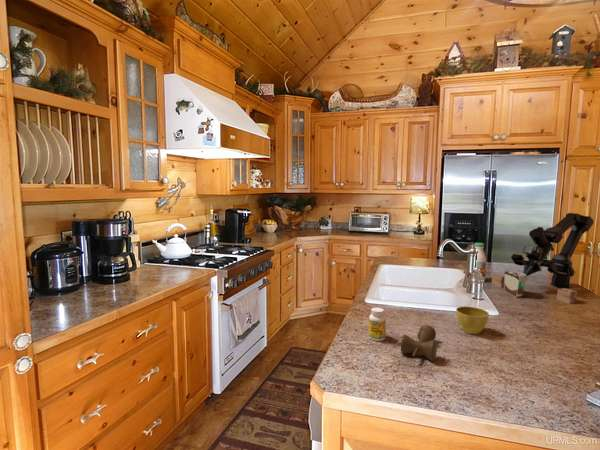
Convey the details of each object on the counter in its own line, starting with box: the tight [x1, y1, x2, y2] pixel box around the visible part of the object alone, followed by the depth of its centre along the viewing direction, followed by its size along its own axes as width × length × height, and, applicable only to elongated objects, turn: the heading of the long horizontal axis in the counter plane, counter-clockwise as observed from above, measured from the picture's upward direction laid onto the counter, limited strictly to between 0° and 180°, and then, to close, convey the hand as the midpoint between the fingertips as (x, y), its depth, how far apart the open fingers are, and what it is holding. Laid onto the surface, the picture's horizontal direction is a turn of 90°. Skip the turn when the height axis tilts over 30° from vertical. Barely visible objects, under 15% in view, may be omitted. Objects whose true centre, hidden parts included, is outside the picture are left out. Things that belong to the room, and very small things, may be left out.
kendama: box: [400, 324, 438, 362], centre depth 106 cm, size 6×10×20 cm
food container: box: [503, 270, 528, 299], centre depth 161 cm, size 12×6×10 cm, turn 0°
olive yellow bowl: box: [455, 306, 490, 335], centre depth 120 cm, size 10×10×7 cm
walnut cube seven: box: [556, 288, 578, 305], centre depth 152 cm, size 5×5×5 cm
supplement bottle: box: [368, 307, 387, 342], centre depth 114 cm, size 5×5×10 cm
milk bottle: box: [473, 242, 487, 282], centre depth 184 cm, size 8×8×20 cm
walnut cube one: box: [491, 273, 504, 288], centre depth 176 cm, size 5×5×5 cm
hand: (523, 276), depth 162 cm, fingers closed
